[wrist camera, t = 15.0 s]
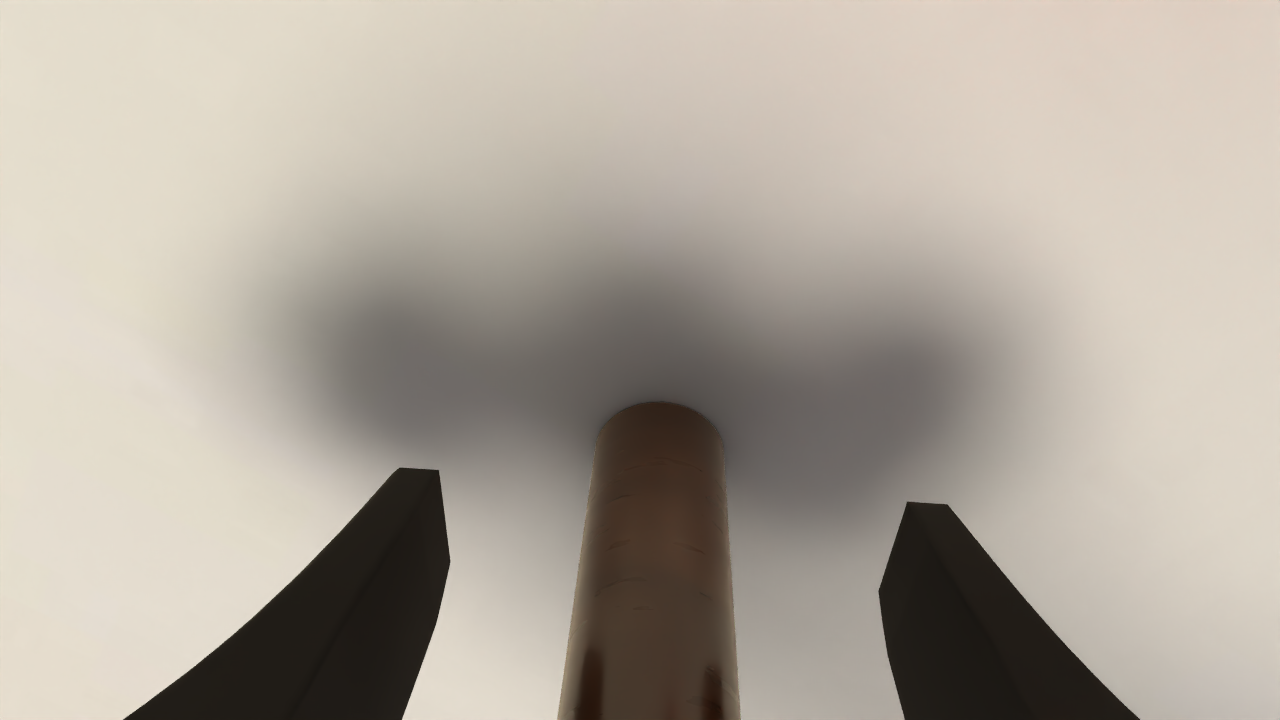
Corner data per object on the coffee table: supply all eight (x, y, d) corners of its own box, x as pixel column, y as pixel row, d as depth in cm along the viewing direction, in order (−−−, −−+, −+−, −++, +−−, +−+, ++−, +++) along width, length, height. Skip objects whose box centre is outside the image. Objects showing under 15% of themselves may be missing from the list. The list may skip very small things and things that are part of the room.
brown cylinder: (620, 509, 17) (572, 1038, 10) (576, 418, 16) (481, 950, 8) (738, 483, 17) (782, 1025, 9) (702, 387, 15) (721, 929, 8)
